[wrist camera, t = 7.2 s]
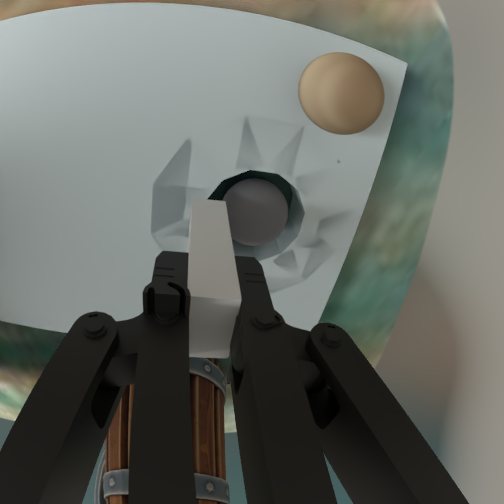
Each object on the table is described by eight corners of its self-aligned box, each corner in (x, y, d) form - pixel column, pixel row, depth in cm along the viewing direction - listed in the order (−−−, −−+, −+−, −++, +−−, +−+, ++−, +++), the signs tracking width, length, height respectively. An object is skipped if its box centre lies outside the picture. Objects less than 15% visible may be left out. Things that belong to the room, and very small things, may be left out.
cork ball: (281, 116, 13) (304, 133, 10) (297, 43, 11) (326, 38, 9) (350, 132, 14) (387, 154, 11) (368, 65, 12) (410, 71, 9)
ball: (217, 220, 19) (212, 253, 16) (227, 164, 17) (224, 187, 14) (276, 230, 19) (281, 263, 16) (290, 176, 18) (301, 201, 14)
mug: (157, 313, 22) (149, 523, 10) (248, 370, 28) (277, 528, 15) (68, 384, 26) (48, 516, 14) (146, 421, 32) (147, 539, 19)
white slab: (9, 299, 20) (-3, 320, 17) (-19, 33, 9) (-43, 34, 7) (298, 324, 25) (306, 347, 23) (383, 61, 14) (407, 63, 12)
